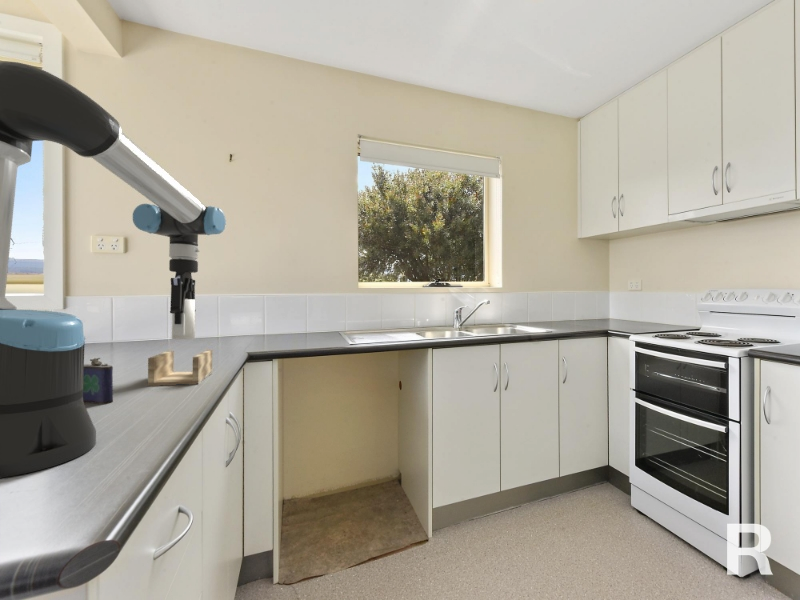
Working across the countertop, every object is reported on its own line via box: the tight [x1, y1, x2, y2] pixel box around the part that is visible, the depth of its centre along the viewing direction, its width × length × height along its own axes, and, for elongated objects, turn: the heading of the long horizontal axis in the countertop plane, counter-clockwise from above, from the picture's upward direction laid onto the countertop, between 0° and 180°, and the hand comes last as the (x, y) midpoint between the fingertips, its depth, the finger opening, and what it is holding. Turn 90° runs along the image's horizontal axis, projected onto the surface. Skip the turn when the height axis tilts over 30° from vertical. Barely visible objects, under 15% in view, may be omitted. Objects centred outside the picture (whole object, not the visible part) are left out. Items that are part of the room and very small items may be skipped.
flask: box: [83, 357, 114, 405], centre depth 84 cm, size 9×3×11 cm, turn 83°
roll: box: [171, 298, 196, 340], centre depth 107 cm, size 6×6×12 cm
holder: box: [147, 349, 213, 387], centre depth 107 cm, size 14×13×8 cm
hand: (183, 333), depth 107 cm, fingers closed on roll, 6 cm apart
